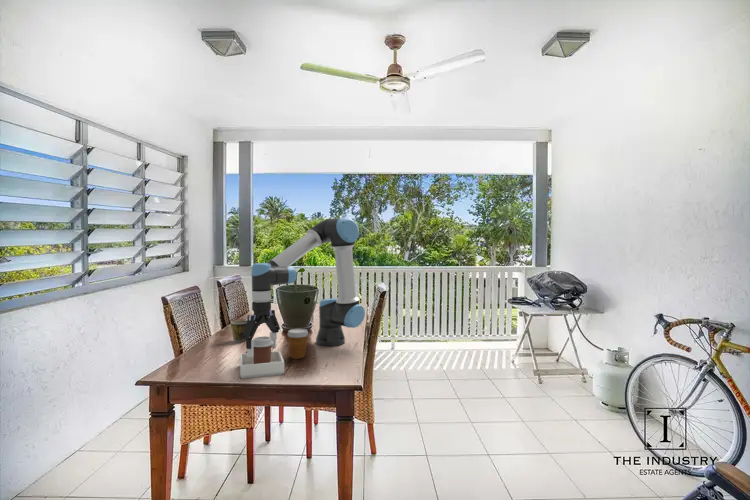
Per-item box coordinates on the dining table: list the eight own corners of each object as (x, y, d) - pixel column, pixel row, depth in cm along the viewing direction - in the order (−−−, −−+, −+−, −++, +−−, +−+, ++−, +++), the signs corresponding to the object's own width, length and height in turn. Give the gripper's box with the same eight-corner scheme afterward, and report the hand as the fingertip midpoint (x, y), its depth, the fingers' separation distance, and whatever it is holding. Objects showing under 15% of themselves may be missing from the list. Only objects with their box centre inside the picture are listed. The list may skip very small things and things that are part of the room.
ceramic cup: (236, 338, 217) (236, 319, 216) (253, 339, 215) (253, 320, 215) (224, 344, 204) (224, 324, 204) (242, 345, 202) (242, 325, 202)
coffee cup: (274, 369, 162) (274, 340, 162) (250, 371, 159) (250, 342, 159) (272, 362, 171) (272, 335, 171) (250, 364, 168) (250, 336, 168)
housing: (279, 362, 176) (279, 350, 175) (284, 374, 160) (284, 361, 160) (239, 365, 170) (239, 354, 170) (240, 378, 154) (240, 365, 154)
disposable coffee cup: (283, 358, 181) (283, 332, 181) (294, 352, 190) (294, 327, 190) (301, 360, 178) (301, 334, 177) (312, 355, 187) (312, 329, 186)
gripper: (274, 296, 177) (274, 343, 178) (231, 304, 155) (232, 359, 155) (288, 297, 174) (288, 345, 175) (246, 306, 151) (247, 361, 152)
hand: (262, 352), depth 165 cm, fingers open, 13 cm apart
